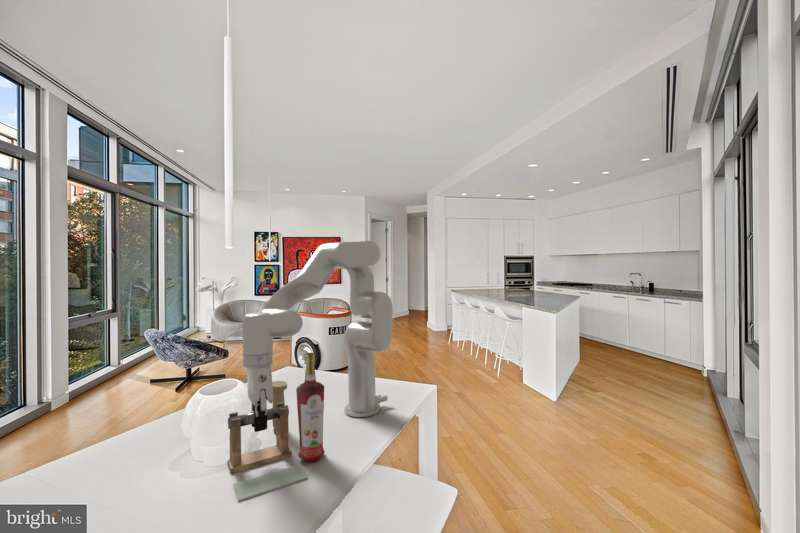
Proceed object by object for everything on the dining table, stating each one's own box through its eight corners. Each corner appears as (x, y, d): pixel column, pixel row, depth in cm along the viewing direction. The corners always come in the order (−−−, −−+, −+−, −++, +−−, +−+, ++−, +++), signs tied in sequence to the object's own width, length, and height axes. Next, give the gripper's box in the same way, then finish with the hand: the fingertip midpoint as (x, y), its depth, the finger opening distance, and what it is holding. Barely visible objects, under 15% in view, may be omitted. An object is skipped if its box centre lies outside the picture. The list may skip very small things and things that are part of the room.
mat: (298, 465, 94) (298, 464, 94) (307, 478, 88) (307, 477, 88) (233, 485, 85) (233, 484, 85) (238, 501, 80) (238, 500, 80)
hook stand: (285, 446, 104) (284, 401, 104) (291, 455, 99) (290, 408, 99) (227, 463, 96) (226, 413, 96) (230, 473, 91) (229, 421, 91)
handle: (275, 437, 110) (275, 387, 110) (267, 430, 114) (266, 383, 114) (290, 432, 113) (290, 384, 113) (282, 426, 118) (281, 379, 118)
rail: (286, 413, 102) (286, 403, 102) (289, 417, 100) (288, 406, 100) (227, 427, 94) (227, 416, 94) (229, 431, 92) (229, 420, 92)
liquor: (302, 468, 92) (300, 358, 92) (294, 456, 99) (292, 352, 99) (329, 459, 96) (327, 354, 96) (320, 448, 102) (318, 349, 103)
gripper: (280, 363, 92) (281, 435, 92) (266, 351, 106) (267, 414, 106) (248, 368, 88) (250, 444, 88) (238, 355, 102) (239, 420, 102)
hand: (259, 427), depth 97 cm, fingers closed on rail, 2 cm apart
